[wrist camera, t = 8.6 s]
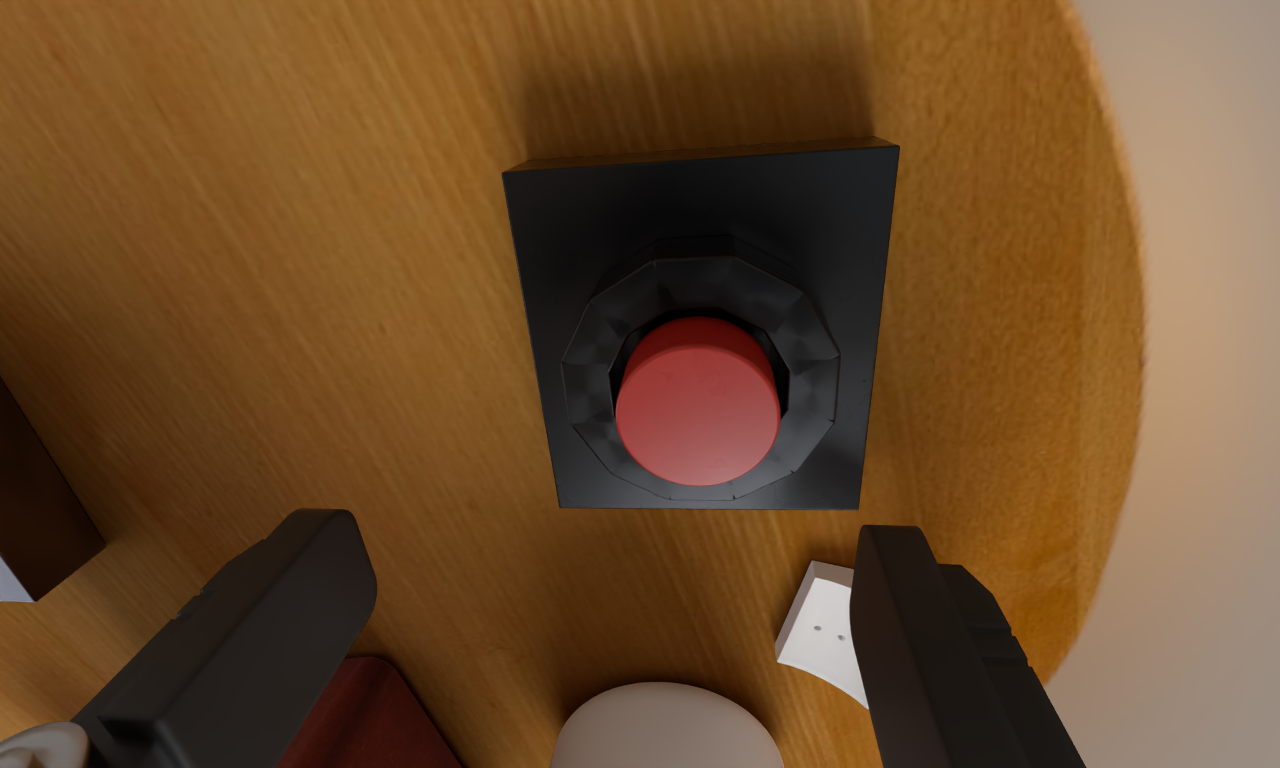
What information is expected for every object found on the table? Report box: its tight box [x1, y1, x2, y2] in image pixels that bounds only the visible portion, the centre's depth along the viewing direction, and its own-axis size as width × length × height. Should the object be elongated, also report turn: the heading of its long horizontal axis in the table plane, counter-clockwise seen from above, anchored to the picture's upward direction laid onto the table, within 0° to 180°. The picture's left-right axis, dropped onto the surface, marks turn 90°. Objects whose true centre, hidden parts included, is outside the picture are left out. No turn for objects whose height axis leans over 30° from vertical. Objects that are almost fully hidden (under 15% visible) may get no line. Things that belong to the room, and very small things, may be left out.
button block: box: [502, 136, 900, 510], centre depth 16 cm, size 10×9×4 cm
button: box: [615, 316, 781, 486], centre depth 14 cm, size 4×4×2 cm
